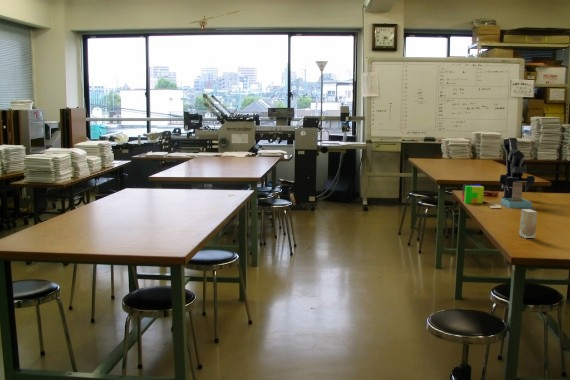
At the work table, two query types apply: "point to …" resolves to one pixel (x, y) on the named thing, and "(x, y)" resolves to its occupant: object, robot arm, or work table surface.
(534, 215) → the skincare box
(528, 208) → the mat
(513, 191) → the block
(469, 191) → the puzzle toy
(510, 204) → the dish
